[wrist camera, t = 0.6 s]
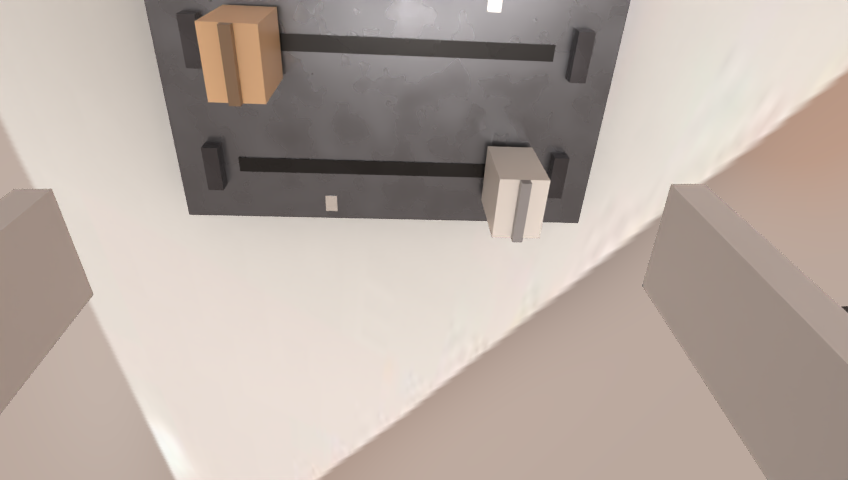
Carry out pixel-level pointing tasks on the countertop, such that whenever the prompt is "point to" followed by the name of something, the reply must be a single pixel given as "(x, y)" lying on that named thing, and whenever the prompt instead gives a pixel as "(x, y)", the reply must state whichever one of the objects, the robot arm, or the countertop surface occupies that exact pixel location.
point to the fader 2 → (514, 192)
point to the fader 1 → (240, 54)
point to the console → (393, 105)
